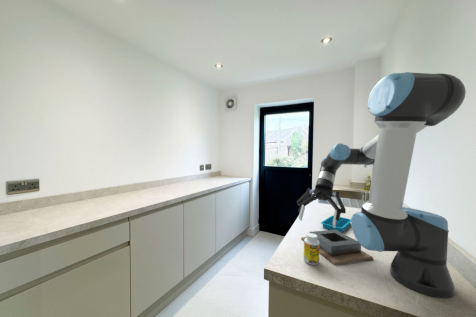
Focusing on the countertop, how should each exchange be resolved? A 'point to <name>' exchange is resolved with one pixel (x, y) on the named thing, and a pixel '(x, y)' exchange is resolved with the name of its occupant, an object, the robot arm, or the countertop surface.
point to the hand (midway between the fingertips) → (316, 222)
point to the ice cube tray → (340, 224)
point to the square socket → (337, 243)
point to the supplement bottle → (311, 249)
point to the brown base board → (344, 257)
